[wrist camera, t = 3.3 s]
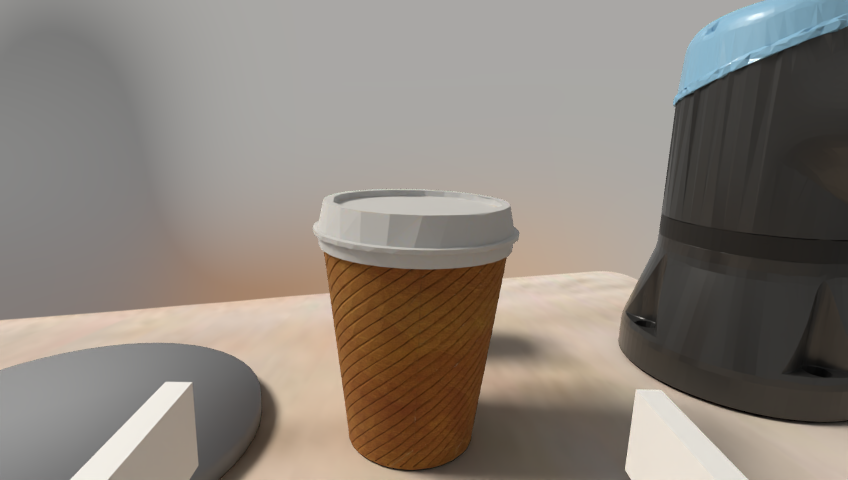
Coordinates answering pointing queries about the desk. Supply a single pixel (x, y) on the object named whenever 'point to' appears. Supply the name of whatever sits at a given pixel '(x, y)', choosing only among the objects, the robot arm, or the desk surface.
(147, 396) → the round gray coaster
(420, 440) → the disposable coffee cup
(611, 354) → the desk surface
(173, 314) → the desk surface
